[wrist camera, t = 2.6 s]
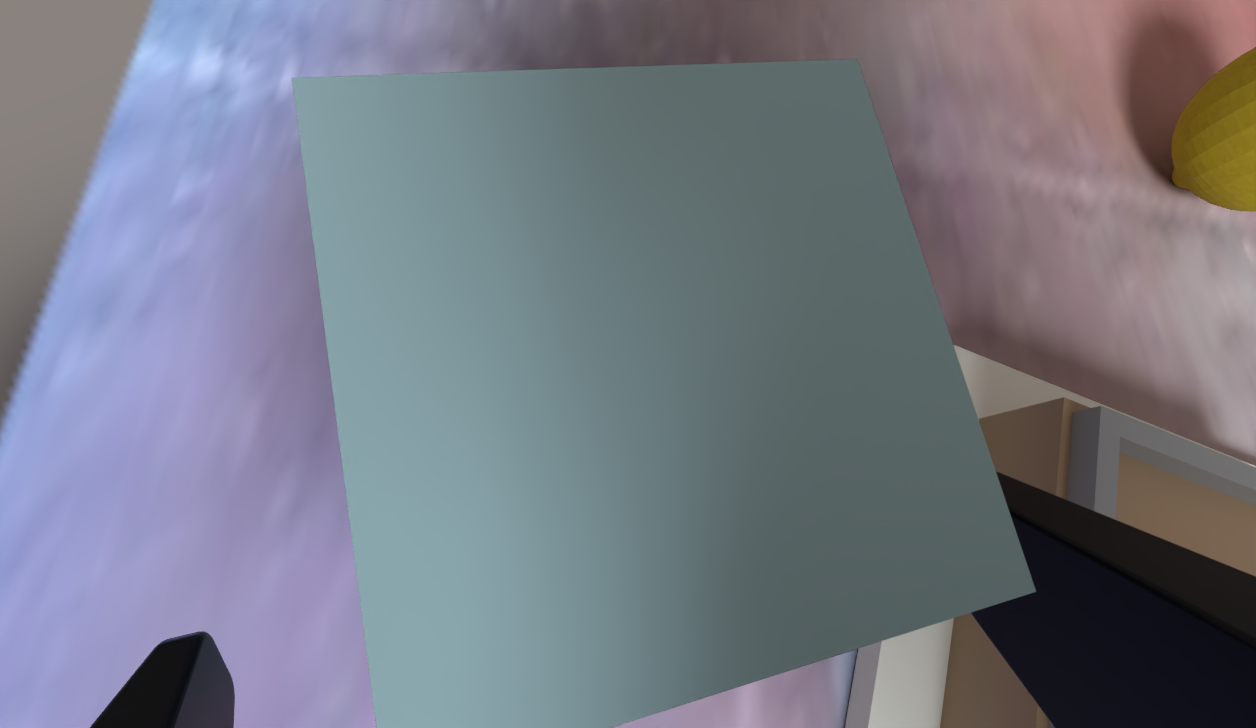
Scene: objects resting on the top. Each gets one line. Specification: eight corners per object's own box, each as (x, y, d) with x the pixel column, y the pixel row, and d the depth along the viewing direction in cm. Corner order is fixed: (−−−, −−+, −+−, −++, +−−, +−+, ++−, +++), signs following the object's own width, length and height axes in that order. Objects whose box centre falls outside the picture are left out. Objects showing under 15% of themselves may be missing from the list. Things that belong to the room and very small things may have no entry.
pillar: (637, 562, 18) (1036, 591, 5) (442, 611, 16) (387, 800, 4) (598, 379, 19) (856, 57, 6) (411, 411, 17) (291, 77, 5)
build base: (1271, 967, 19) (1527, 1100, 14) (825, 844, 17) (957, 952, 12) (1263, 485, 23) (1456, 469, 19) (909, 344, 21) (1030, 290, 17)
